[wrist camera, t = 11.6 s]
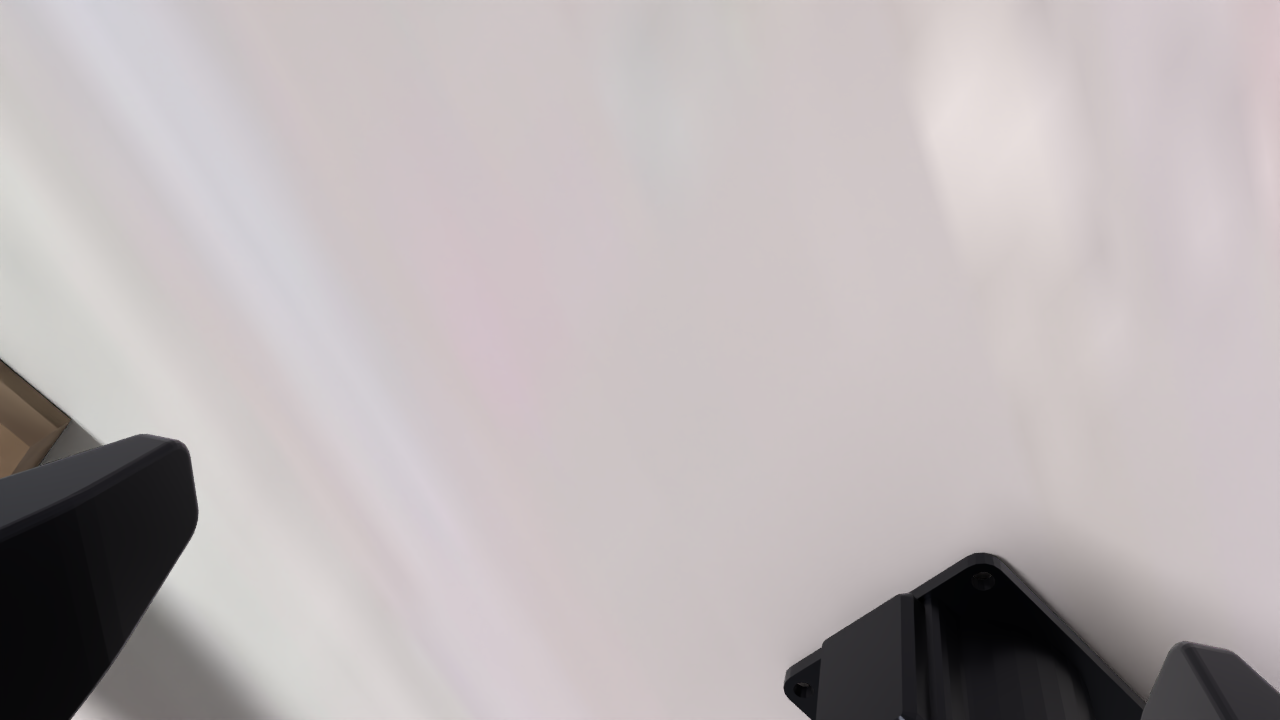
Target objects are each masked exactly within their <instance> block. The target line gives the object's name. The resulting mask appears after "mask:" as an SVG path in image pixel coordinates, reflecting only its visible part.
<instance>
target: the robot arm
mask: <svg viewBox="0 0 1280 720" xmlns="http://www.w3.org/2000/svg"><path fill="white" fill-rule="evenodd" d="M197 521H198V503H197V496H196V490H195V483H194V477H193V470H192V464H191V457H190V453H189V450H188V449H187V447H186V446H185V444H184V443H182V442H180V441H179V440H175V439H170V438H165V437H160V436H155V435H150V434H139V435H135V436H132V437H129V438H126V439H122V440H119V441H116V442H113V443H110V444H107V445H104V446H101V447H97V448H94V449H91V450H88V451H85V452H82V453H79V454H76V455H72V456H69V457H66V458H63V459H60V460H57V461H54V462H51V463H47V464H44V465H41V466H38V467H35V468H32V469H29V470H26V471H22V472H19V473H16V474H13V475H10V476H7V477H4V478H1V479H0V720H71V719H72V717H73V716H74V715H75V713H76V712H77V711H78V710H79V708H80V707H81V706H82V704H83V703H84V702H85V700H86V699H87V698H88V697H89V695H90V694H91V693H92V691H93V690H94V689H95V687H96V686H97V685H98V683H99V682H100V681H101V679H102V678H103V676H104V675H105V674H106V672H107V671H108V670H109V668H110V667H111V665H112V664H113V662H114V661H115V659H116V658H117V656H118V655H119V653H120V652H121V650H122V649H123V647H124V646H125V644H126V643H127V641H128V639H129V638H130V636H131V635H132V633H133V631H134V630H135V628H136V626H137V625H138V623H139V622H140V620H141V618H142V617H143V615H144V614H145V612H146V610H147V609H148V607H149V605H150V604H151V602H152V601H153V599H154V597H155V596H156V594H157V593H158V591H159V589H160V588H161V586H162V584H163V583H164V581H165V580H166V578H167V576H168V575H169V573H170V572H171V570H172V568H173V567H174V565H175V564H176V562H177V560H178V559H179V557H180V555H181V554H182V552H183V551H184V549H185V547H186V546H187V544H188V543H189V541H190V539H191V537H192V536H193V534H194V531H195V529H196V525H197ZM980 572H986V573H989V574H991V576H990V578H987V579H984V580H981V579H976V578H975V577H973V576H974V575H975V574H977V573H980ZM800 682H803V683H808V684H809V685H811V686H808V687H804V686H800V685H799V684H797V683H800ZM784 692H785V695H786V696H787V697H788V698H789V700H791V701H792V702H793V703H794V704H795V705H796V706H797V707H798V708H799V709H800V710H802V711H803V712H804V713H805V714H806V715H807V716H808V717H809V718H810V719H811V720H1280V693H1279V692H1278V691H1276V690H1275V689H1274V688H1273V687H1272V686H1271V685H1270V684H1269V683H1268V682H1267V681H1265V680H1264V679H1263V678H1262V677H1261V676H1260V675H1259V674H1258V673H1257V672H1256V671H1254V670H1253V669H1252V668H1251V667H1250V666H1249V665H1248V664H1247V663H1246V662H1245V661H1243V660H1242V659H1241V658H1240V657H1239V656H1238V655H1236V654H1235V653H1234V652H1232V651H1230V650H1227V649H1223V648H1218V647H1213V646H1208V645H1203V644H1198V643H1193V642H1188V641H1183V642H1180V643H1177V644H1175V645H1174V646H1173V647H1172V649H1171V650H1170V651H1169V653H1168V655H1167V657H1166V660H1165V662H1164V664H1163V666H1162V669H1161V671H1160V673H1159V675H1158V678H1157V680H1156V682H1155V684H1154V687H1153V689H1152V691H1151V693H1150V696H1149V698H1148V700H1147V702H1146V703H1145V702H1144V701H1143V700H1142V699H1141V698H1140V697H1139V696H1138V695H1137V694H1136V693H1135V692H1134V691H1133V690H1132V689H1131V688H1130V687H1129V686H1128V685H1126V684H1125V683H1124V682H1123V681H1122V680H1121V679H1120V678H1119V677H1118V676H1117V675H1116V674H1115V673H1114V672H1113V671H1112V670H1111V669H1110V668H1109V667H1108V666H1107V665H1106V664H1105V663H1104V662H1103V661H1102V660H1101V659H1100V658H1099V657H1098V656H1097V655H1096V654H1095V653H1094V652H1093V651H1092V650H1091V649H1090V648H1089V647H1088V646H1087V645H1086V644H1085V643H1084V642H1083V641H1082V640H1081V639H1080V638H1079V637H1078V636H1077V635H1076V634H1075V633H1074V632H1073V631H1072V630H1071V629H1070V628H1069V627H1068V626H1067V625H1066V624H1065V623H1064V622H1062V621H1061V620H1060V619H1059V618H1058V617H1057V616H1056V615H1055V614H1054V613H1053V612H1052V611H1051V610H1050V609H1049V608H1048V607H1047V606H1046V605H1045V604H1044V603H1043V602H1042V601H1041V600H1040V599H1039V598H1038V597H1037V596H1036V595H1035V594H1034V593H1033V592H1032V591H1031V590H1030V589H1029V588H1028V587H1027V586H1026V585H1025V584H1024V583H1023V582H1022V581H1021V580H1020V579H1019V578H1018V577H1017V576H1016V575H1015V574H1014V573H1013V572H1012V571H1011V570H1010V569H1009V568H1008V567H1007V566H1006V565H1005V564H1004V563H1003V562H1002V561H1001V560H999V559H998V558H996V557H995V556H993V555H991V554H987V553H974V554H972V555H969V556H967V557H965V558H964V559H962V560H961V561H959V562H957V563H956V564H954V565H953V566H951V567H949V568H948V569H946V570H945V571H943V572H941V573H940V574H938V575H937V576H935V577H933V578H932V579H930V580H929V581H927V582H925V583H924V584H922V585H921V586H919V587H917V588H916V589H914V590H913V591H911V592H909V593H905V594H898V595H896V596H895V597H893V598H892V599H890V600H888V601H887V602H885V603H884V604H882V605H880V606H879V607H877V608H876V609H874V610H872V611H871V612H869V613H868V614H866V615H864V616H863V617H861V618H860V619H858V620H857V621H855V622H853V623H852V624H850V625H849V626H847V627H845V628H844V629H842V630H841V631H839V632H837V633H836V634H834V635H833V636H831V637H829V638H828V639H826V640H825V641H824V642H823V644H822V648H820V649H818V650H817V651H815V652H814V653H812V654H810V655H809V656H807V657H806V658H804V659H802V660H801V661H799V662H798V663H796V664H794V665H793V666H791V667H790V668H789V669H788V670H787V671H786V675H785V680H784Z"/></svg>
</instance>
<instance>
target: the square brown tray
mask: <svg viewBox="0 0 1280 720" xmlns="http://www.w3.org/2000/svg"><path fill="white" fill-rule="evenodd" d="M70 421H71V419H70V418H68V417H67V416H66V415H65V414H64V413H62V412H61V411H60V410H59V409H58V408H56V407H55V406H54V405H53V404H52V403H50V402H49V401H48V400H47V399H46V398H44V397H43V396H42V395H41V394H40V393H38V392H37V391H36V390H35V389H34V388H33V387H31V386H30V385H29V384H28V383H27V382H25V381H24V380H23V379H22V378H21V377H19V376H18V375H17V374H16V373H15V372H13V371H12V370H11V369H10V368H9V367H7V366H6V365H5V364H4V363H3V362H1V361H0V479H1V478H4V477H7V476H10V475H13V474H16V473H19V472H22V471H26V470H29V469H32V468H35V467H38V465H39V464H40V463H41V461H42V460H43V458H44V457H45V456H46V454H47V453H48V451H49V450H50V449H51V447H52V446H53V444H54V443H55V442H56V440H57V439H58V437H59V436H60V435H61V433H62V432H63V430H64V429H65V428H66V426H67V425H68V424H69V422H70Z"/></svg>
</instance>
